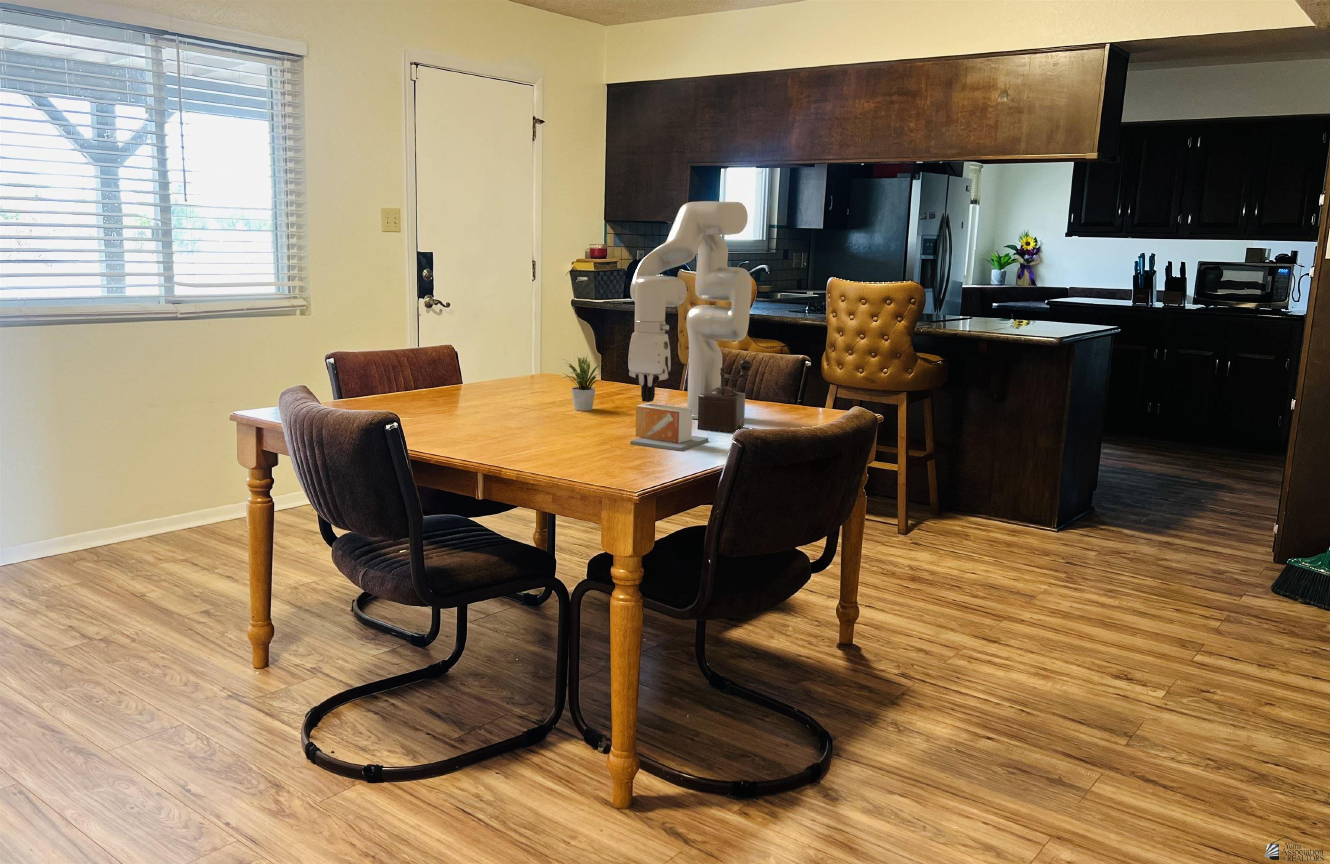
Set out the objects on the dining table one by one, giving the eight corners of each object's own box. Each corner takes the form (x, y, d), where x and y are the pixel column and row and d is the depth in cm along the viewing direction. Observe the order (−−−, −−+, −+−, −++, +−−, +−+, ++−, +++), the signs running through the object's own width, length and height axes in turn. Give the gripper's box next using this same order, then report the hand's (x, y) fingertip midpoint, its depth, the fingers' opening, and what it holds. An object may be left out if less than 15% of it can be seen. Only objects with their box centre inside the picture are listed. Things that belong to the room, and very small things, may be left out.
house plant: (549, 406, 303) (549, 351, 300) (593, 403, 309) (594, 350, 306) (565, 414, 290) (566, 356, 287) (610, 411, 296) (611, 355, 293)
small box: (635, 405, 255) (679, 411, 248) (649, 402, 260) (693, 407, 253) (634, 437, 256) (678, 443, 249) (648, 433, 262) (692, 439, 255)
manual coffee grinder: (735, 433, 269) (738, 365, 265) (696, 429, 273) (698, 362, 269) (752, 424, 283) (755, 359, 280) (714, 420, 287) (717, 356, 284)
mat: (659, 434, 264) (659, 431, 264) (708, 441, 258) (708, 437, 258) (630, 444, 251) (630, 440, 251) (680, 451, 245) (680, 447, 245)
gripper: (683, 329, 253) (681, 402, 257) (631, 325, 260) (629, 396, 264) (668, 331, 247) (666, 406, 250) (615, 327, 254) (614, 400, 257)
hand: (647, 401), depth 257 cm, fingers closed
